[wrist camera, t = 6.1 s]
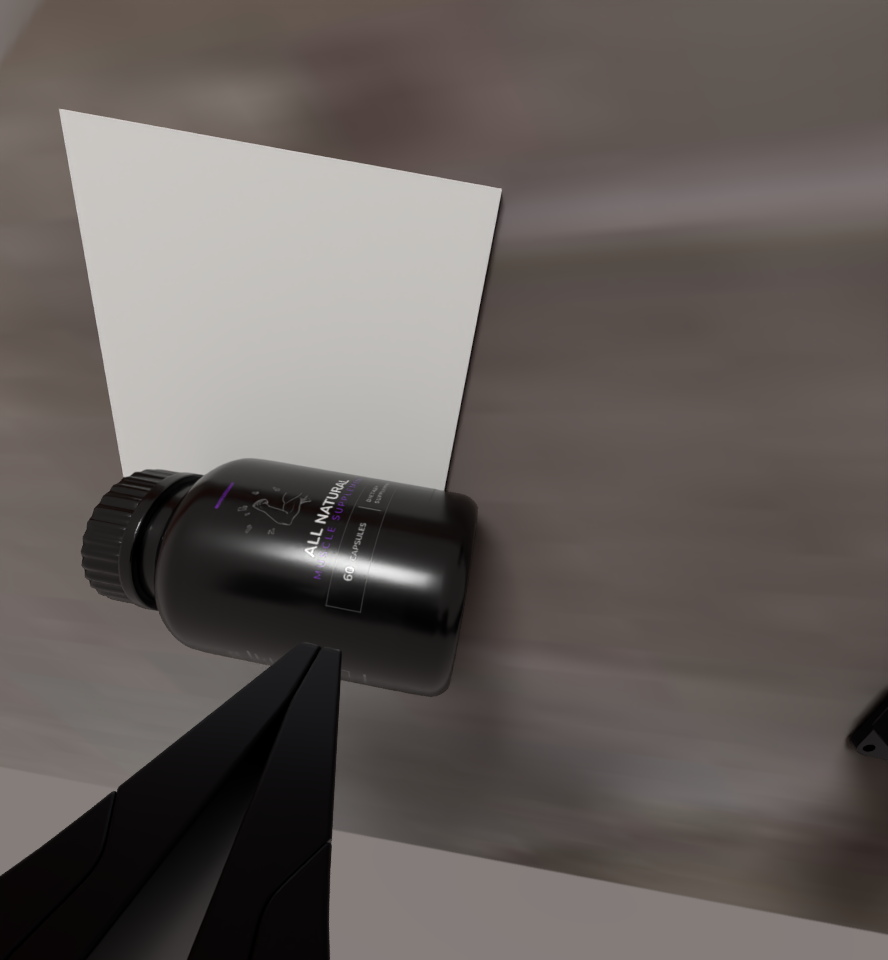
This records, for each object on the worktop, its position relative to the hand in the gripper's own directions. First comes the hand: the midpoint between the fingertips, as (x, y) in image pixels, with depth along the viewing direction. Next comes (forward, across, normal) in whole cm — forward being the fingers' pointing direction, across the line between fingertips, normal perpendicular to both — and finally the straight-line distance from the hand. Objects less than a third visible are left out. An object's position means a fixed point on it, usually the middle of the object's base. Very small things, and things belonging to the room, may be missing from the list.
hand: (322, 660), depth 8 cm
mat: (+10, +6, 0) cm, 11 cm away
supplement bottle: (+6, -3, +2) cm, 7 cm away
